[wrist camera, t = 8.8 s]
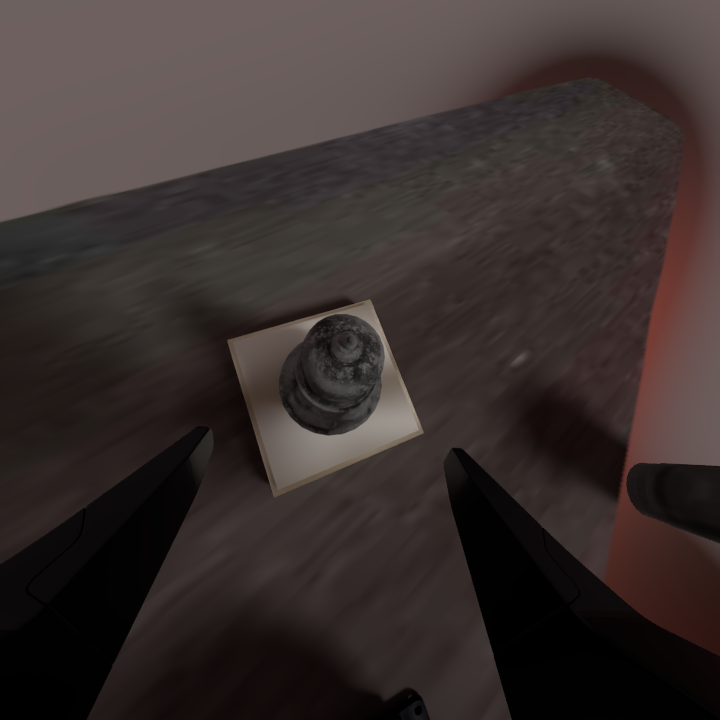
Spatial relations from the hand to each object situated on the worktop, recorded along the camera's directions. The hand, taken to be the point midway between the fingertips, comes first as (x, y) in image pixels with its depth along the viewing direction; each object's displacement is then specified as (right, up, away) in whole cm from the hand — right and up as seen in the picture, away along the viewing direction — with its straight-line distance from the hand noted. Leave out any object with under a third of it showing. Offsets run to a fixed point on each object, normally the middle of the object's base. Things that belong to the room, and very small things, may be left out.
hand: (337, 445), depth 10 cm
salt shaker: (-1, +1, +9) cm, 9 cm away
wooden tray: (-2, +1, +11) cm, 11 cm away
